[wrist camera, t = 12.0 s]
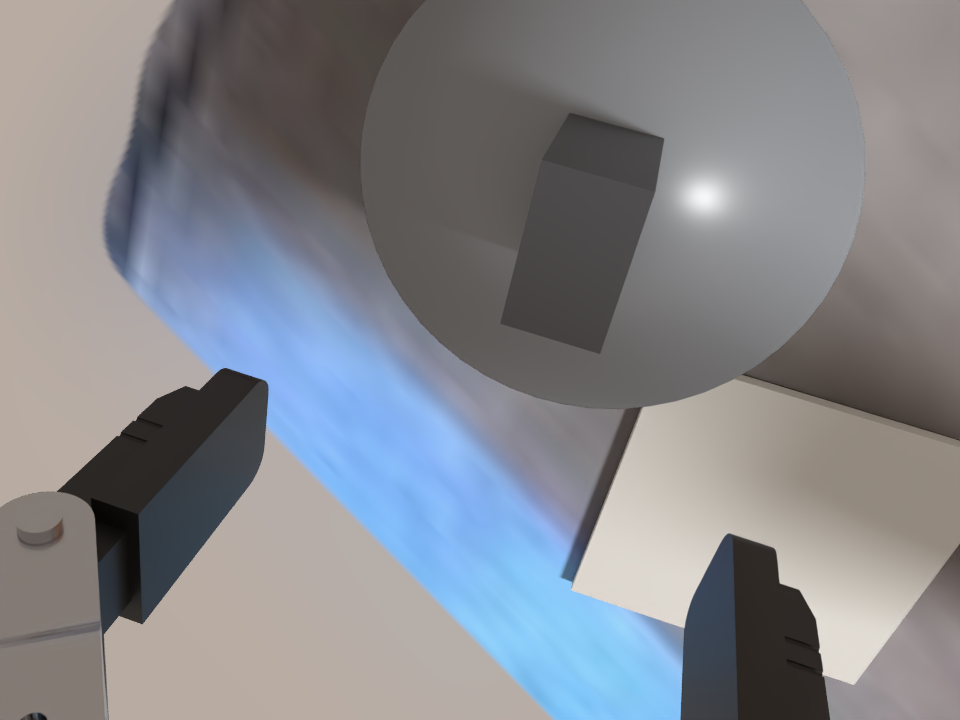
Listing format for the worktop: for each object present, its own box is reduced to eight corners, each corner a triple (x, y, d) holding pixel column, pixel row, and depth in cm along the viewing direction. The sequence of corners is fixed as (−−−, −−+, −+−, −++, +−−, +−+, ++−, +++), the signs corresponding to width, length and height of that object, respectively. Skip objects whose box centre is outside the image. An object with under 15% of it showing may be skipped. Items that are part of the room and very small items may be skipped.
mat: (1014, 457, 36) (1018, 465, 35) (852, 675, 45) (853, 684, 44) (663, 350, 37) (662, 357, 37) (572, 582, 46) (570, 590, 46)
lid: (963, -4, 22) (1041, 32, 17) (743, 443, 31) (750, 557, 26) (409, -143, 24) (325, -149, 18) (348, 321, 32) (279, 405, 27)
